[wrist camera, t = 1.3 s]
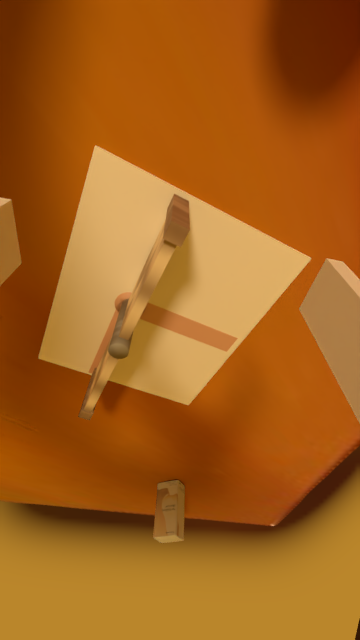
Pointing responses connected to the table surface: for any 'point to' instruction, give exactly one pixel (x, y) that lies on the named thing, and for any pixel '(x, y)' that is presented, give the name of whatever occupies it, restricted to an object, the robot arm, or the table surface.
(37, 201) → the table surface
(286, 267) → the card
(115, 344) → the fence fixed
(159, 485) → the skincare box
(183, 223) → the fence flap
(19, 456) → the table surface
